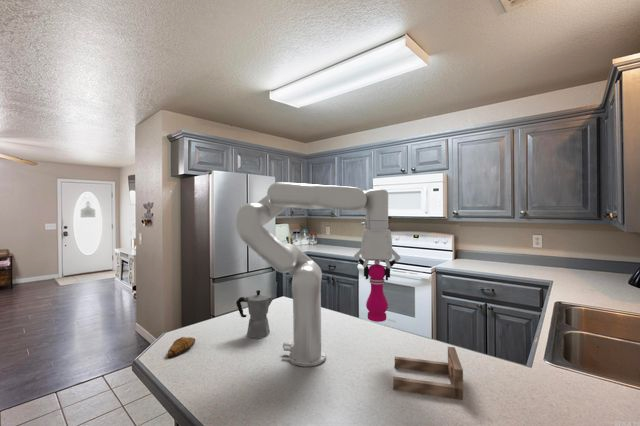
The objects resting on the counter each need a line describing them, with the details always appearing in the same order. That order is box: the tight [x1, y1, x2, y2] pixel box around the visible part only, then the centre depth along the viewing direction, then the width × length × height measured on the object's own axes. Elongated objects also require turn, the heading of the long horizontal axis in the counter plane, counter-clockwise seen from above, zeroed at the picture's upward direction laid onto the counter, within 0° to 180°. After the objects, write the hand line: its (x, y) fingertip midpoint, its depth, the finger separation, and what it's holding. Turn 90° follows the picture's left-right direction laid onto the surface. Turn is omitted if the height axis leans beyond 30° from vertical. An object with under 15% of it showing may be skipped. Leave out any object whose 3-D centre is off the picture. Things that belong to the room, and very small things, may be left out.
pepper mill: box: [365, 260, 389, 323], centre depth 103 cm, size 7×7×20 cm
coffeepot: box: [236, 289, 275, 339], centre depth 125 cm, size 15×9×18 cm, turn 103°
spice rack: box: [392, 346, 464, 401], centre depth 89 cm, size 18×14×8 cm
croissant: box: [166, 336, 196, 359], centre depth 111 cm, size 14×7×5 cm, turn 165°
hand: (376, 278), depth 102 cm, fingers closed on pepper mill, 6 cm apart
